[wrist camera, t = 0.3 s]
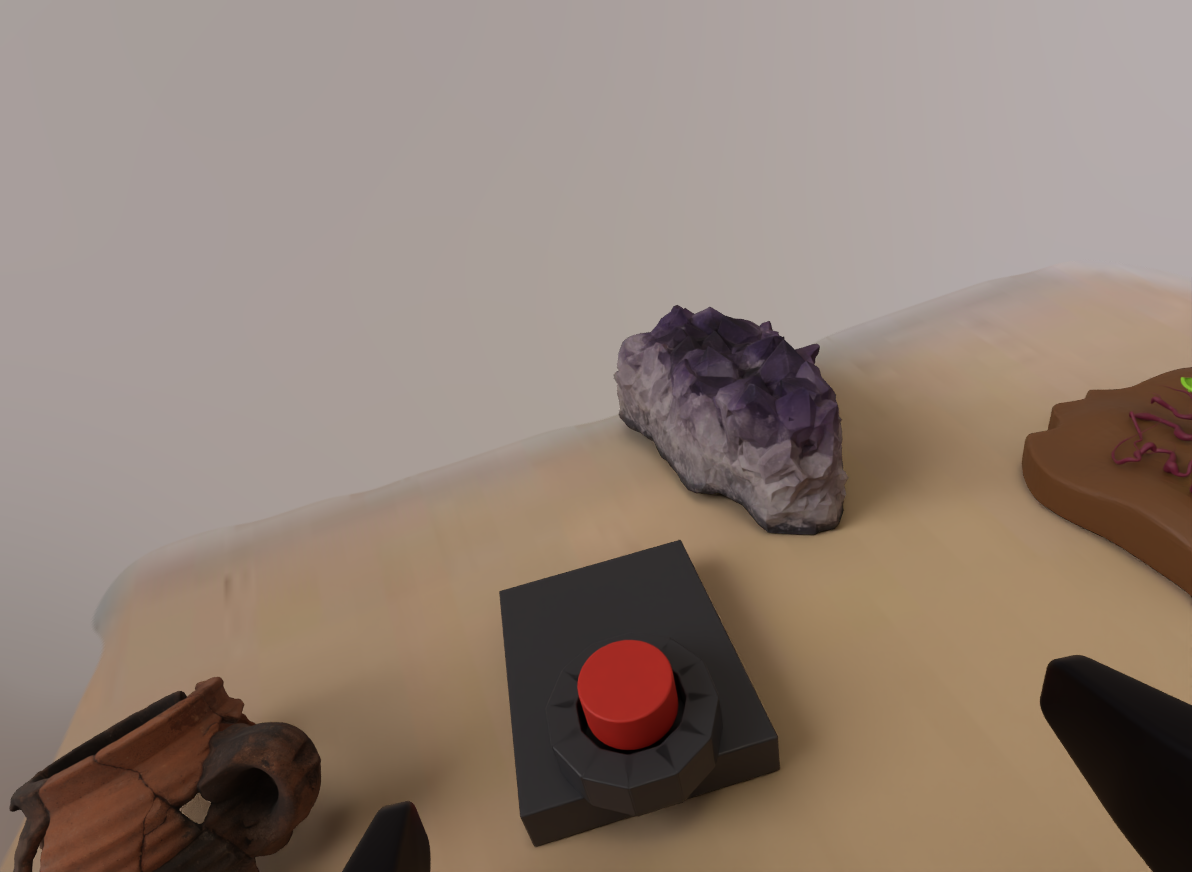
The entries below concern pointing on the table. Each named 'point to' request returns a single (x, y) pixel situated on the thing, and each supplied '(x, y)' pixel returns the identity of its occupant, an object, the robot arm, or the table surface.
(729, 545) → the table surface
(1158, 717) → the robot arm
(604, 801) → the power base
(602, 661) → the power button
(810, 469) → the geode
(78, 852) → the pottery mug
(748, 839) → the table surface
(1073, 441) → the plant
